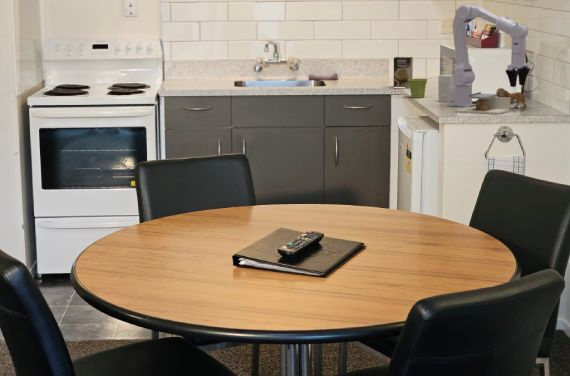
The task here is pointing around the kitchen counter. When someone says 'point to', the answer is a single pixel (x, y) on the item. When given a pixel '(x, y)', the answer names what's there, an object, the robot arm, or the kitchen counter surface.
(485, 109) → the block
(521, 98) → the lion figurine
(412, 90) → the plant pot
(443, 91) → the skincare box
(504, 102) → the puzzle board
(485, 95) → the cover
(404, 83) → the coffee box
